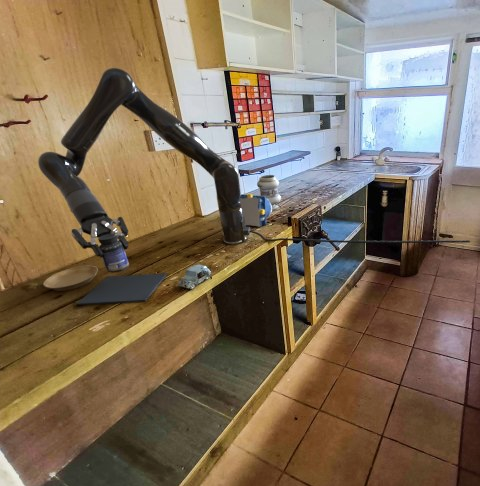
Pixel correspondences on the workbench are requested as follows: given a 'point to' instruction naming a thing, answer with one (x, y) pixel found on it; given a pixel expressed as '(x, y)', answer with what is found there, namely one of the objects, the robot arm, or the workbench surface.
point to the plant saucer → (71, 278)
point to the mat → (123, 289)
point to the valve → (255, 209)
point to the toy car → (194, 276)
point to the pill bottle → (113, 253)
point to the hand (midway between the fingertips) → (114, 251)
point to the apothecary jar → (269, 189)
